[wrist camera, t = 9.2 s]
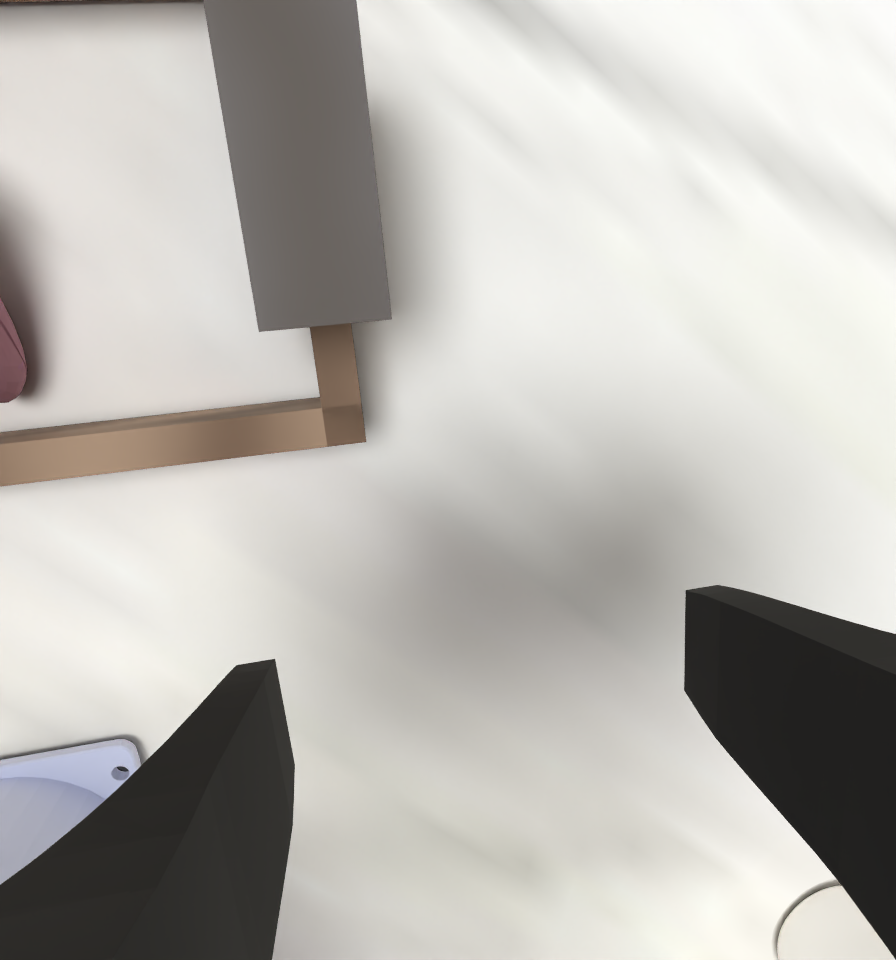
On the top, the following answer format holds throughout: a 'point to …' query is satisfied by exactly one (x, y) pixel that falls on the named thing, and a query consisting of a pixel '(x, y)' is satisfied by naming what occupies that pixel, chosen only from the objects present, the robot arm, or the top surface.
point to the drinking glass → (829, 930)
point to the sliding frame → (268, 244)
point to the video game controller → (10, 359)
